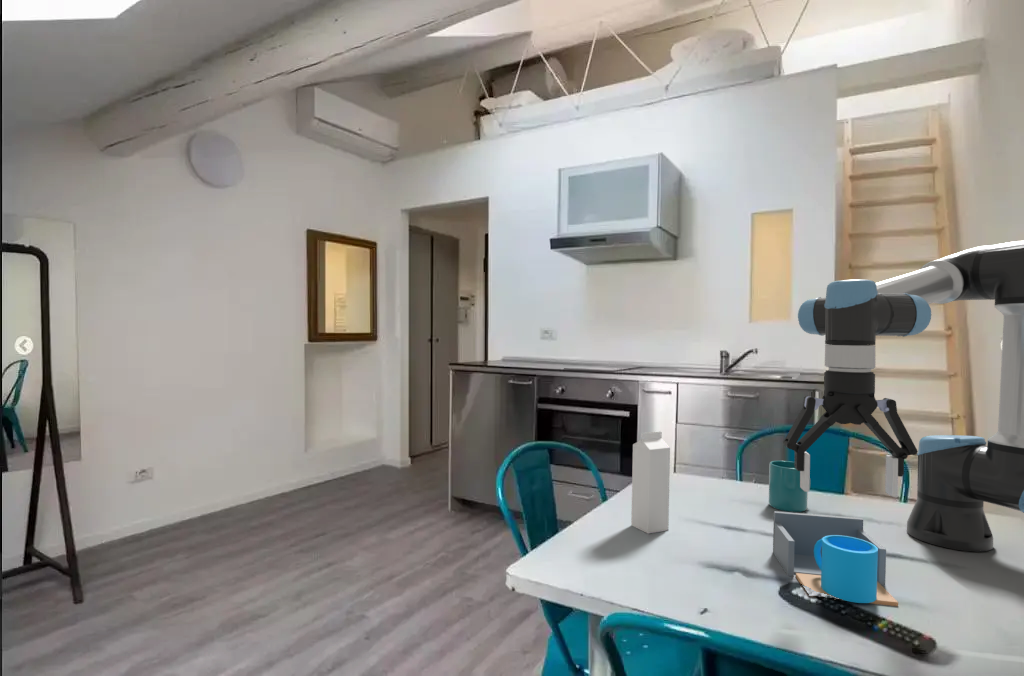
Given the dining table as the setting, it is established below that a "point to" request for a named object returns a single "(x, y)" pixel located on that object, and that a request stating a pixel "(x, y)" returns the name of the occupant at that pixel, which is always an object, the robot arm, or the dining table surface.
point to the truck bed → (815, 540)
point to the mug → (848, 568)
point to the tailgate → (815, 585)
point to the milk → (650, 483)
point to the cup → (786, 487)
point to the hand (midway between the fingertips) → (847, 492)
